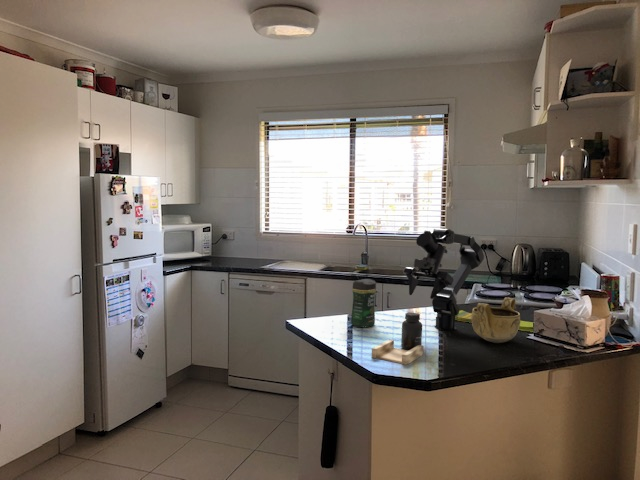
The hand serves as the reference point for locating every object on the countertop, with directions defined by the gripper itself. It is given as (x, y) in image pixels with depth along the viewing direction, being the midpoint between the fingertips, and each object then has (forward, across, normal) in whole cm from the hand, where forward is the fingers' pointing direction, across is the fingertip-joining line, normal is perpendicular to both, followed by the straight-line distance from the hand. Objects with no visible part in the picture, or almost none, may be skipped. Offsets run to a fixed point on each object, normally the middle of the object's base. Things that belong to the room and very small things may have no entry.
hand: (420, 296), depth 191 cm
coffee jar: (+14, -25, +5) cm, 29 cm away
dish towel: (-8, +9, +45) cm, 46 cm away
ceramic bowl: (+5, +21, +22) cm, 31 cm away
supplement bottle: (+20, +7, -5) cm, 22 cm away
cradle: (+26, +9, -14) cm, 31 cm away
